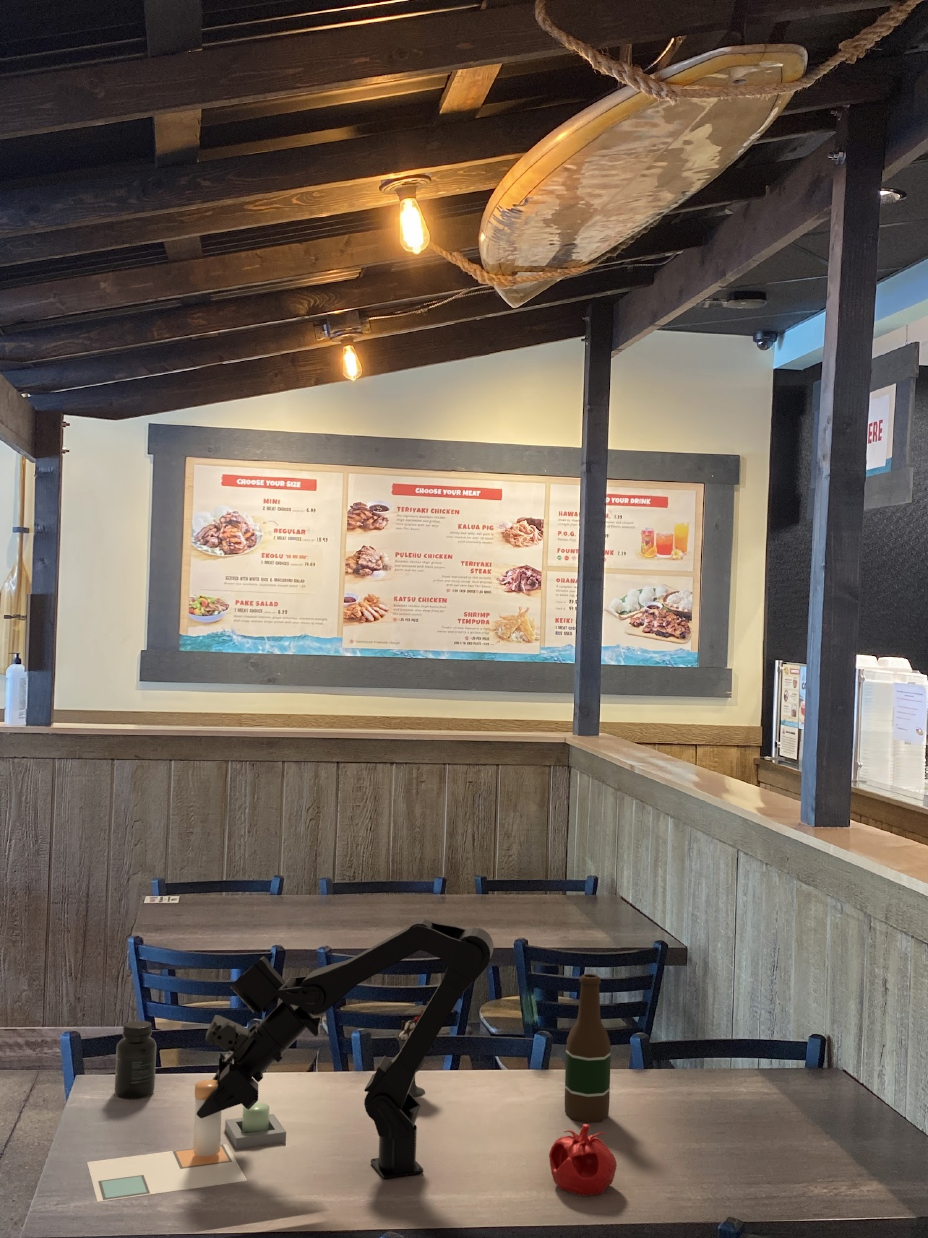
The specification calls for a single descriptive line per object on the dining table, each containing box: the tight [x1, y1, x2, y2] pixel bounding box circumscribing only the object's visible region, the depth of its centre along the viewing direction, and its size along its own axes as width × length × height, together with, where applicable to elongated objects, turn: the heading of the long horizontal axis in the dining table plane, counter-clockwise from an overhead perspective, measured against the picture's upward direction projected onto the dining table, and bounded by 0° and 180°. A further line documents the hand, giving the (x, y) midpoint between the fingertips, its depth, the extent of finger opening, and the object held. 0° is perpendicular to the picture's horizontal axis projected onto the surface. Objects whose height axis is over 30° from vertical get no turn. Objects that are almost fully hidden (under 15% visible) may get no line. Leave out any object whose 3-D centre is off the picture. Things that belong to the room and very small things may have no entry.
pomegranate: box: [548, 1123, 618, 1197], centre depth 174 cm, size 10×10×9 cm
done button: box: [242, 1102, 270, 1134], centre depth 187 cm, size 4×4×4 cm
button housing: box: [224, 1113, 287, 1149], centre depth 186 cm, size 8×8×2 cm
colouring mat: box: [86, 1143, 248, 1203], centre depth 172 cm, size 14×21×1 cm, turn 113°
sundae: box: [395, 1009, 426, 1098], centre depth 211 cm, size 7×7×15 cm
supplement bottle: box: [114, 1020, 157, 1100], centre depth 206 cm, size 7×7×12 cm
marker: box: [193, 1079, 222, 1156], centre depth 178 cm, size 4×4×10 cm
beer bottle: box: [564, 973, 612, 1124], centre depth 203 cm, size 8×8×24 cm
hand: (199, 1111), depth 178 cm, fingers closed on marker, 4 cm apart
